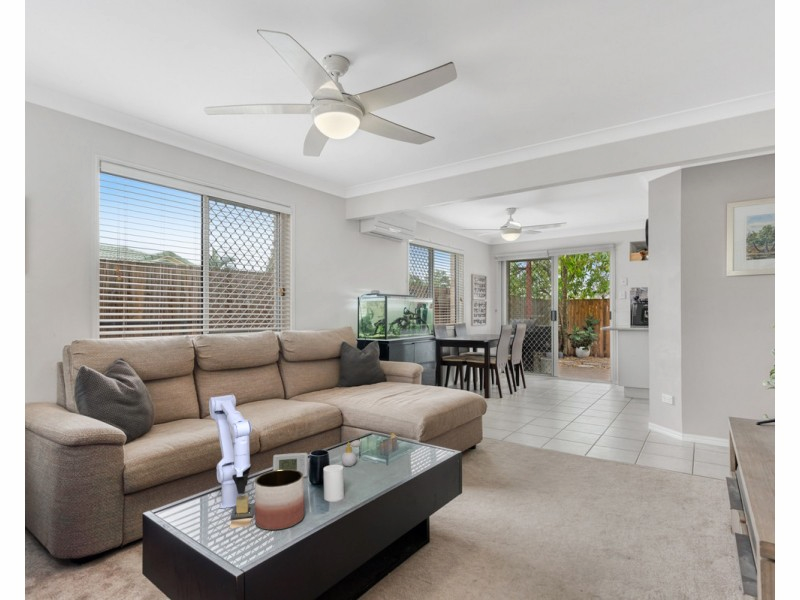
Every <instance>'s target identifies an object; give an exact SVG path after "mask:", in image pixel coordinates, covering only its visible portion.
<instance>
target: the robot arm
mask: <svg viewBox="0 0 800 600" xmlns="http://www.w3.org/2000/svg"><path fill="white" fill-rule="evenodd" d="M236 405H237V399H236V396H235V395H234V394H232V393H231V394H226V395H221V396H210V398H209V401H208V408H209V409H208V411H209V414H210V415H209V416H210V418H211V419H212V420H214V421H215V423H216V428H217V433H218V439H219V447H220V451H221V460H219V462H217V464H216V478H217V481H218V483H220V484H221V502H220V504H219V509H225V508H226V509H227V508H234V506H236V500H237V497H238V496H243V495H244V494H245V490H246V486H247V485H248V481H249V480H248V479H249V475H250V470H251V468H252V464H251V458H250V457H251V456H250V455H251V454H250V453H251V451H250V450H251V449H250V436H251V435H252V431H253V430H252V423H251V422H250V419H246V418H244V416H243V415H242V412H241V411H239V410H236ZM242 494H243V495H242Z"/></svg>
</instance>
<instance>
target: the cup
mask: <svg viewBox="0 0 800 600" xmlns="http://www.w3.org/2000/svg"><path fill="white" fill-rule="evenodd" d="M344 498H345V486H344V466H343V465H341V464H330V465H326V466H324V467H323V499H324V501H327V502H339V501H342V500H343V499H344Z"/></svg>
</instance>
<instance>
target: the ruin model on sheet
mask: <svg viewBox="0 0 800 600" xmlns="http://www.w3.org/2000/svg"><path fill="white" fill-rule="evenodd" d="M389 435H390V437H388V438H385V439H382V441H379V455H380V456H383V457H385V456H387V455H389V454H391V453H394V452H396V451H398V436H397V435H396V434H395V433H394V432H392V433H389Z"/></svg>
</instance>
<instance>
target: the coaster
mask: <svg viewBox="0 0 800 600" xmlns="http://www.w3.org/2000/svg"><path fill="white" fill-rule="evenodd" d="M251 523H252V518H247V519H239V520H232V521H231V520H230V524H229V529H236V528H244V527H251Z"/></svg>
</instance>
